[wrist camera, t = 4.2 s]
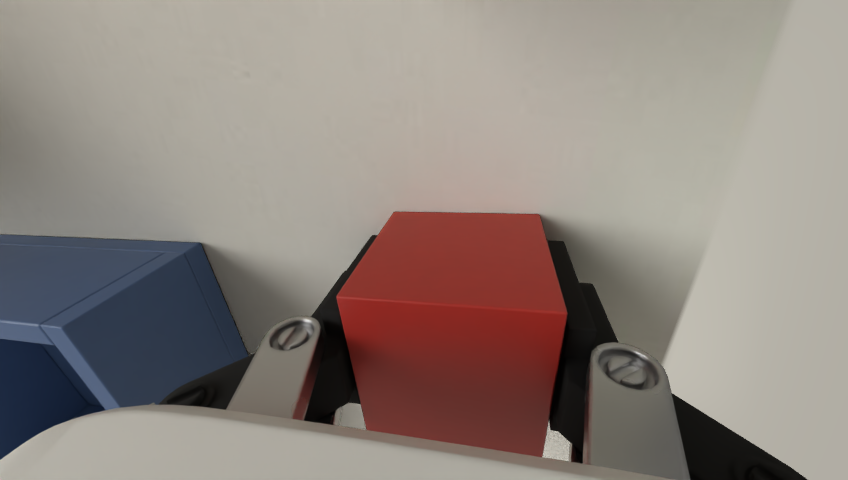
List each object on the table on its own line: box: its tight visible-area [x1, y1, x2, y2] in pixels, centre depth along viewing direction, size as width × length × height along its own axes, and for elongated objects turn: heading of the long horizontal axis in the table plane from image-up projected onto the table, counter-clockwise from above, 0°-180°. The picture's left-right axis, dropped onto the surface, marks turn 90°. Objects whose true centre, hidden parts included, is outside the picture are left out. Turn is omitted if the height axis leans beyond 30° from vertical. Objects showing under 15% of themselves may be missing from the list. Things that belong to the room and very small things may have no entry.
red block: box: [337, 212, 568, 457], centre depth 9 cm, size 4×4×4 cm
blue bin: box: [0, 235, 248, 460], centre depth 15 cm, size 13×12×5 cm
